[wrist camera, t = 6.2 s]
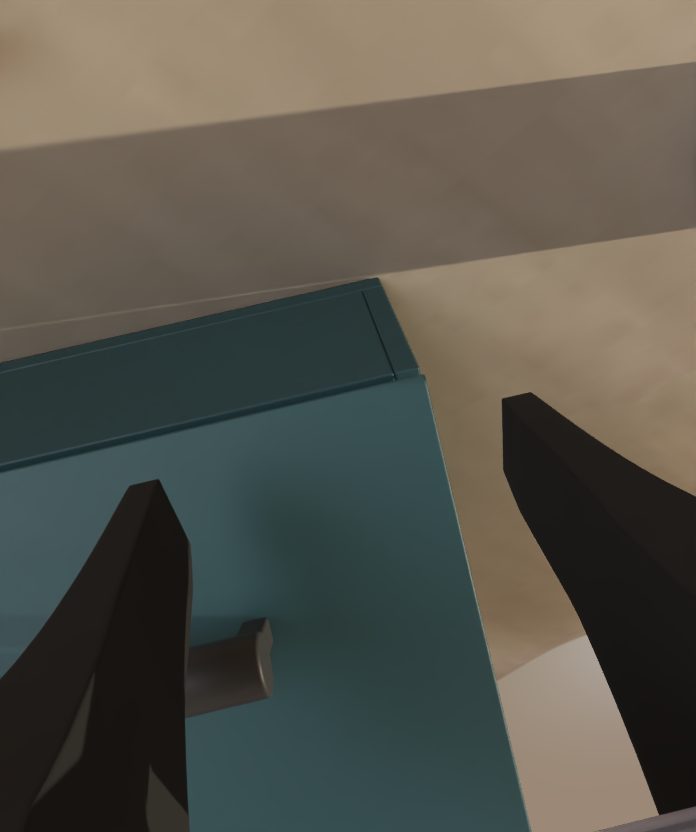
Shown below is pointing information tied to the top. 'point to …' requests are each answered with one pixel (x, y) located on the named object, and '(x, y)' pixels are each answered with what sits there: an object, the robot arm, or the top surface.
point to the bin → (199, 372)
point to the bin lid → (300, 613)
